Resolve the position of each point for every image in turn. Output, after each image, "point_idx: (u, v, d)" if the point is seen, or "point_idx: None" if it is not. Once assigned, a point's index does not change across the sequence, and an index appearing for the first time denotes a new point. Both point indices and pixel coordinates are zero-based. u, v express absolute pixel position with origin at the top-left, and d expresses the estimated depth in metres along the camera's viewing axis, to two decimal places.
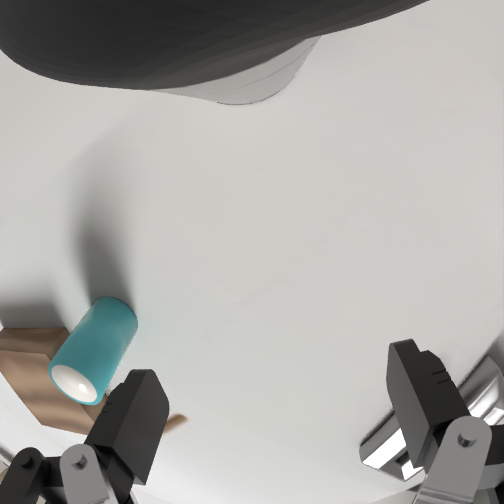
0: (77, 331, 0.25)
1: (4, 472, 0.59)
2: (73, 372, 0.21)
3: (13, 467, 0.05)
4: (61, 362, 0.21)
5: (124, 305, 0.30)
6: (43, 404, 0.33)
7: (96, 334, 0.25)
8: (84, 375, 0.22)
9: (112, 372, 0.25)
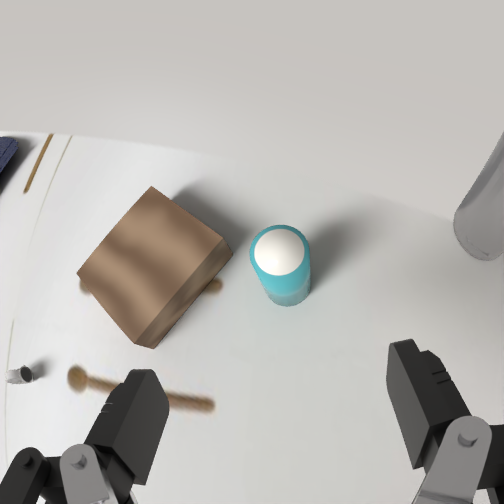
0: None
1: None
2: (299, 244, 0.29)
3: (13, 467, 0.05)
4: (298, 232, 0.30)
5: (310, 282, 0.38)
6: (124, 263, 0.38)
7: None
8: (305, 253, 0.29)
9: (296, 285, 0.31)
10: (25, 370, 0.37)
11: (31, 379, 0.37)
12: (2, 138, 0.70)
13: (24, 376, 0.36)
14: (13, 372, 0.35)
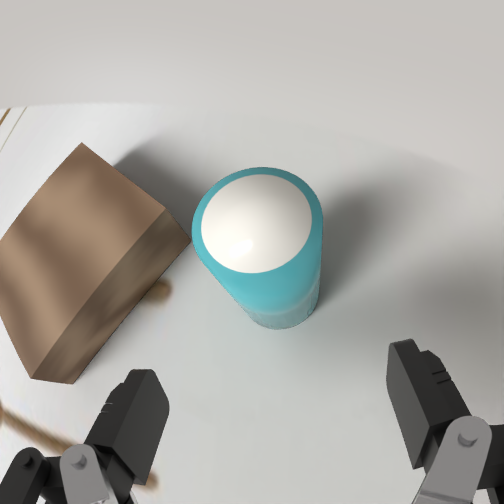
0: None
1: None
2: (299, 204, 0.13)
3: (13, 467, 0.05)
4: (298, 180, 0.14)
5: None
6: (30, 252, 0.22)
7: None
8: (314, 223, 0.13)
9: (292, 294, 0.14)
10: None
11: None
12: None
13: None
14: None
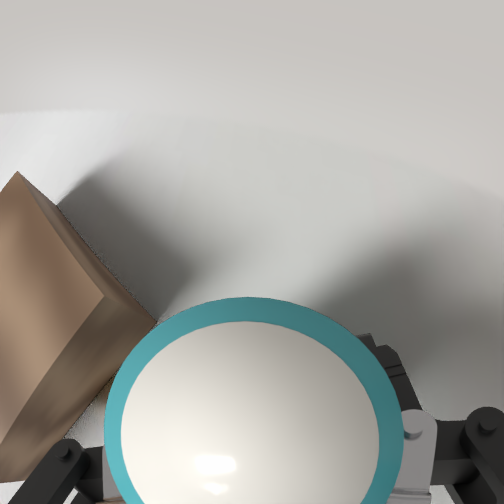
0: None
1: None
2: (353, 418, 0.04)
3: (49, 457, 0.06)
4: (352, 345, 0.05)
5: None
6: None
7: None
8: (382, 464, 0.04)
9: None
10: None
11: None
12: None
13: None
14: None
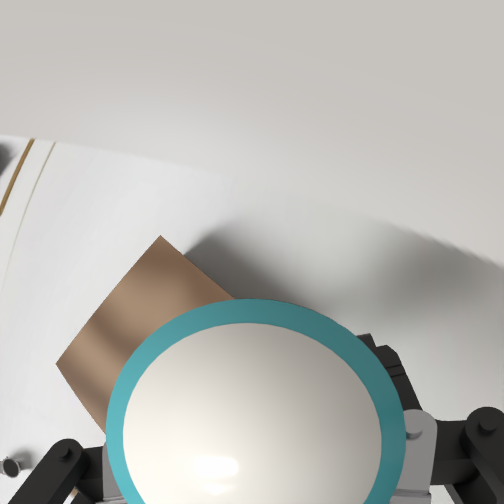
0: None
1: None
2: (355, 420, 0.04)
3: (49, 457, 0.06)
4: (355, 347, 0.05)
5: None
6: (124, 364, 0.23)
7: None
8: (385, 465, 0.04)
9: None
10: (9, 463, 0.22)
11: (18, 472, 0.23)
12: None
13: (8, 471, 0.22)
14: None
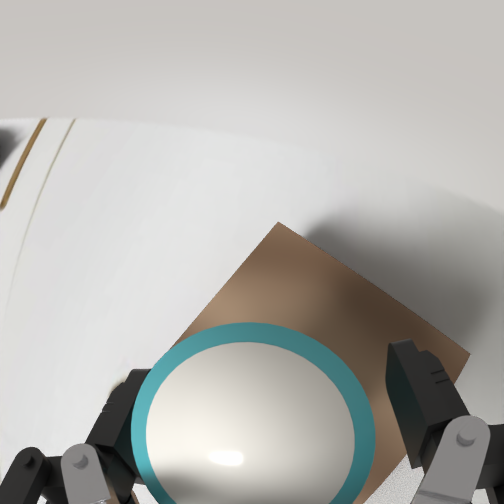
0: None
1: None
2: (333, 420, 0.06)
3: (14, 467, 0.05)
4: (334, 363, 0.06)
5: None
6: None
7: None
8: (357, 459, 0.05)
9: None
10: None
11: None
12: None
13: None
14: None
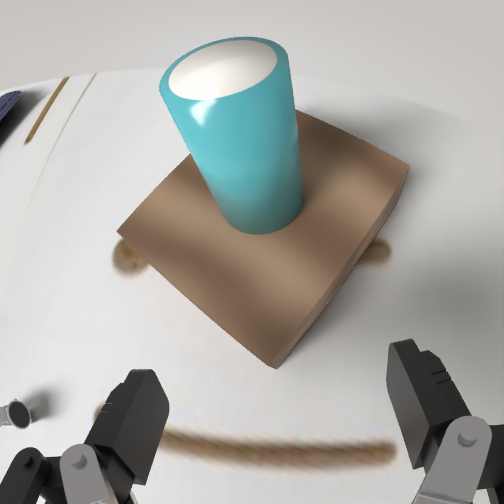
0: None
1: None
2: (265, 52, 0.11)
3: (13, 467, 0.05)
4: (266, 41, 0.12)
5: (303, 192, 0.20)
6: None
7: None
8: (279, 63, 0.11)
9: (262, 146, 0.13)
10: (17, 407, 0.19)
11: (28, 422, 0.20)
12: None
13: (16, 418, 0.19)
14: None
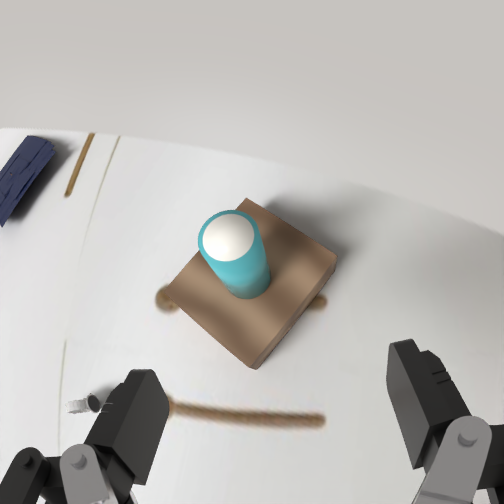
0: None
1: None
2: (249, 230, 0.28)
3: (13, 467, 0.05)
4: (250, 218, 0.28)
5: None
6: None
7: (264, 250, 0.32)
8: (254, 240, 0.27)
9: (246, 274, 0.29)
10: (92, 399, 0.36)
11: (99, 408, 0.36)
12: (30, 137, 0.69)
13: (92, 406, 0.35)
14: (79, 403, 0.34)
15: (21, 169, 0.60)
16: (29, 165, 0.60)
